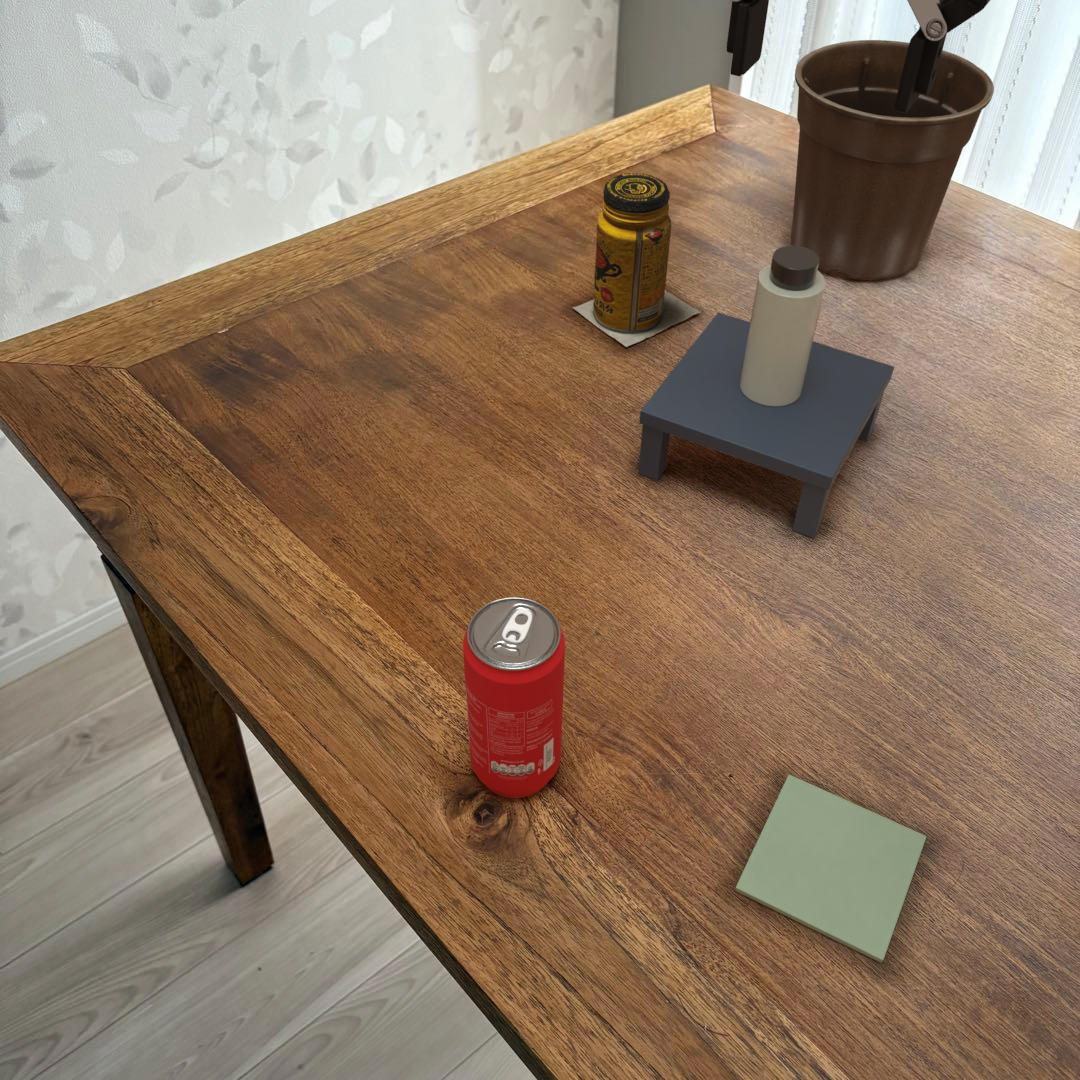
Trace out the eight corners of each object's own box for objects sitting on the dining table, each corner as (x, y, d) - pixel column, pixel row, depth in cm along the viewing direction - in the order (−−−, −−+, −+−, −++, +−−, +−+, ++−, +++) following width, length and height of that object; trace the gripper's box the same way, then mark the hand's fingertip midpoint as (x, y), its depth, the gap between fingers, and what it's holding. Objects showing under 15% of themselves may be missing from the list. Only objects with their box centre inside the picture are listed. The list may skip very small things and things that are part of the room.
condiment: (572, 309, 97) (576, 181, 88) (645, 278, 100) (656, 152, 92) (625, 349, 93) (636, 219, 84) (700, 315, 96) (717, 187, 88)
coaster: (925, 839, 61) (927, 835, 61) (881, 963, 56) (883, 960, 56) (787, 777, 64) (788, 773, 63) (734, 890, 59) (735, 887, 59)
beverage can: (456, 788, 63) (445, 655, 55) (490, 717, 66) (485, 582, 58) (542, 816, 62) (544, 685, 53) (572, 743, 65) (579, 609, 57)
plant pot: (732, 227, 107) (757, 58, 95) (864, 189, 112) (902, 25, 101) (840, 313, 97) (882, 135, 85) (979, 267, 102) (1036, 94, 91)
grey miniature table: (876, 429, 86) (894, 366, 81) (815, 541, 77) (832, 477, 73) (708, 374, 90) (718, 311, 86) (633, 474, 82) (640, 410, 78)
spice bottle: (810, 380, 80) (839, 250, 73) (788, 414, 77) (817, 282, 70) (753, 362, 82) (776, 233, 74) (730, 394, 79) (751, 263, 71)
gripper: (1102, -277, 51) (991, 93, 63) (748, -311, 57) (709, 33, 69) (1071, -247, 46) (958, 146, 58) (689, -288, 52) (659, 77, 64)
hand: (824, 85), depth 64 cm, fingers open, 9 cm apart
